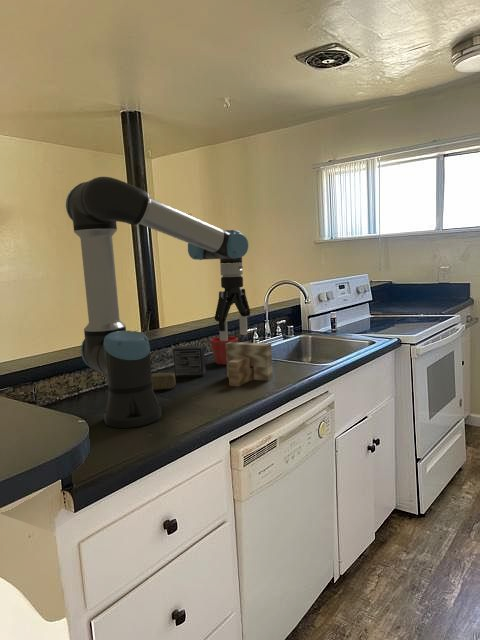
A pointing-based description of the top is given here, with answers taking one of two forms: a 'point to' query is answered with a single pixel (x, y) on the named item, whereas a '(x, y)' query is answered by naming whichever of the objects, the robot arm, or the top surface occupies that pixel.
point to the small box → (189, 361)
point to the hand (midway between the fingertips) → (234, 337)
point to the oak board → (240, 371)
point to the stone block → (163, 381)
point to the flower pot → (221, 349)
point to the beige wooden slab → (252, 357)
